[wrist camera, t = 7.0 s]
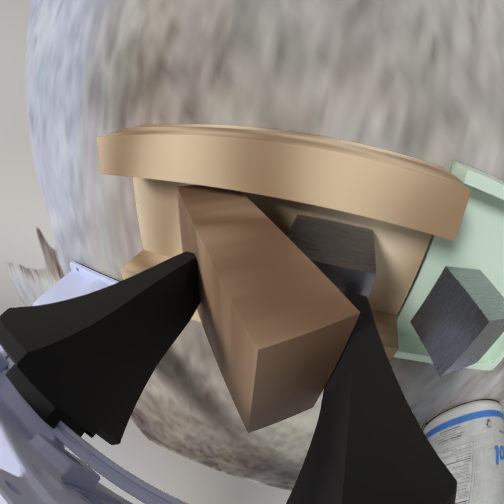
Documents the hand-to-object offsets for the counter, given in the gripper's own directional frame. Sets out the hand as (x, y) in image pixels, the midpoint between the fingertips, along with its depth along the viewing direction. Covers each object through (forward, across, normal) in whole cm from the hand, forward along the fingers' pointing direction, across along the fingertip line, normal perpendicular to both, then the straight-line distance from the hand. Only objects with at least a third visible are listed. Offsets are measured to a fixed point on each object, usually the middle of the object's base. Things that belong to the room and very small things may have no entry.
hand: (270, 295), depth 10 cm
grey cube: (+4, -2, 0) cm, 5 cm away
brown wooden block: (+3, +4, 0) cm, 6 cm away
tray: (+5, -11, 0) cm, 12 cm away
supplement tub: (+5, -21, +16) cm, 27 cm away
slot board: (+5, +2, 0) cm, 5 cm away
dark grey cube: (+4, -8, +1) cm, 9 cm away
